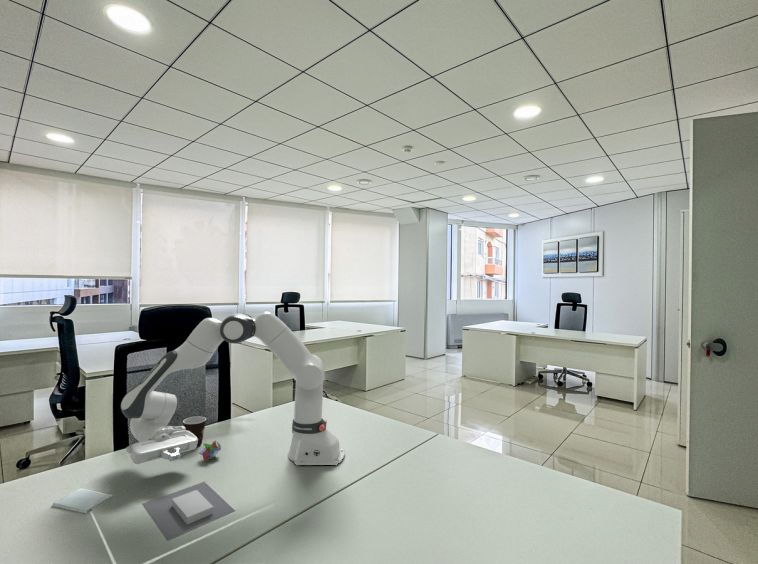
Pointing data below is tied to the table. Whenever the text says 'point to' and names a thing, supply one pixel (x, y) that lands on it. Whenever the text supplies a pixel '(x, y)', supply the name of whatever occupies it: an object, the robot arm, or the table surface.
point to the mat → (171, 519)
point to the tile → (192, 507)
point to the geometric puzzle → (210, 450)
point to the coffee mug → (195, 427)
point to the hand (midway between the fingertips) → (175, 458)
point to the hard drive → (81, 500)
